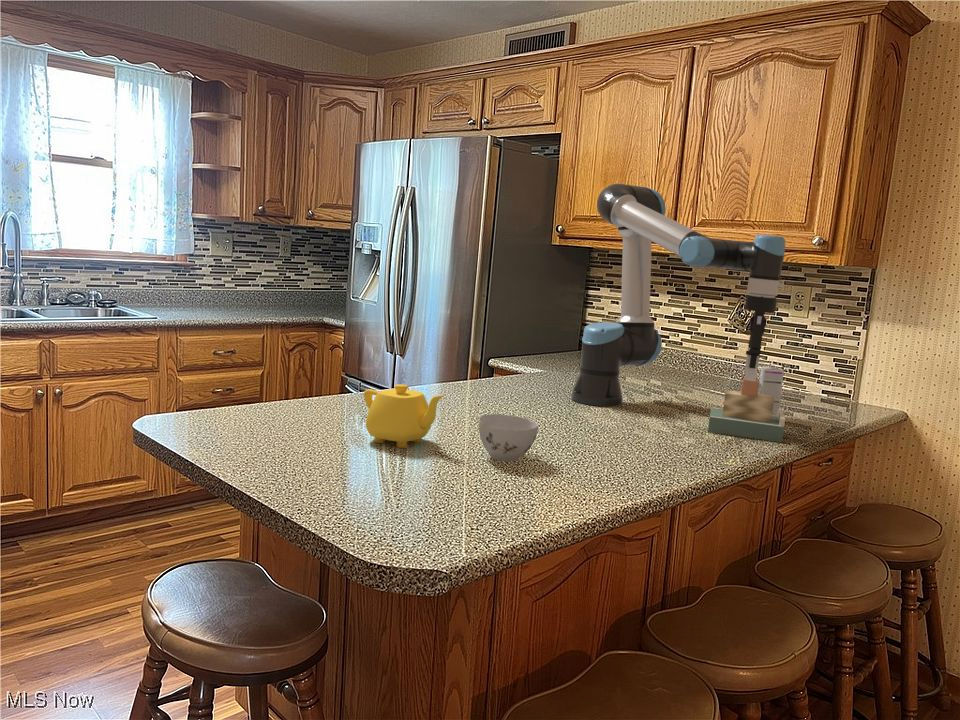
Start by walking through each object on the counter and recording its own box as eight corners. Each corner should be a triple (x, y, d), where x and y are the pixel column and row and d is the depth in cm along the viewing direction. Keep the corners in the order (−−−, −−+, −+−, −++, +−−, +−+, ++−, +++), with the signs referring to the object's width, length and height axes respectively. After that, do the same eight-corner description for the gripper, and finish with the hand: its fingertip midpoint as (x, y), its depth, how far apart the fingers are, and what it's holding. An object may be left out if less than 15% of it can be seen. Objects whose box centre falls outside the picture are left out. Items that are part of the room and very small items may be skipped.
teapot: (424, 457, 153) (428, 397, 151) (344, 439, 162) (347, 382, 160) (456, 444, 165) (460, 388, 163) (379, 428, 174) (382, 375, 172)
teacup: (518, 470, 148) (521, 431, 147) (464, 458, 154) (466, 420, 153) (550, 455, 161) (553, 419, 160) (498, 444, 167) (501, 409, 166)
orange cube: (741, 394, 197) (743, 379, 196) (741, 392, 201) (743, 377, 200) (757, 396, 196) (759, 381, 195) (757, 394, 199) (759, 379, 199)
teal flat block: (707, 432, 196) (710, 409, 195) (709, 421, 209) (712, 400, 208) (781, 442, 190) (785, 419, 189) (779, 431, 203) (782, 409, 203)
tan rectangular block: (722, 415, 198) (725, 393, 197) (723, 411, 204) (725, 389, 203) (771, 422, 194) (774, 399, 193) (770, 418, 200) (773, 395, 199)
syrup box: (778, 419, 220) (785, 370, 218) (757, 416, 221) (764, 368, 219) (775, 415, 225) (781, 367, 223) (754, 413, 227) (760, 365, 224)
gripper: (779, 300, 182) (766, 386, 185) (775, 295, 205) (763, 371, 208) (746, 296, 184) (734, 381, 187) (746, 292, 207) (735, 367, 211)
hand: (749, 376), depth 198 cm, fingers open, 13 cm apart
